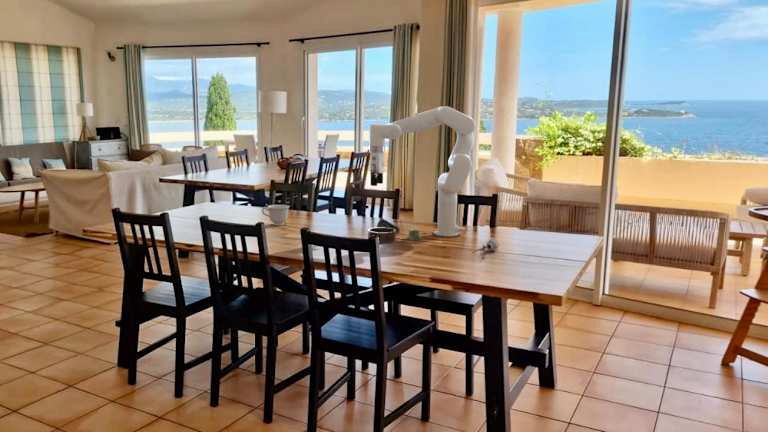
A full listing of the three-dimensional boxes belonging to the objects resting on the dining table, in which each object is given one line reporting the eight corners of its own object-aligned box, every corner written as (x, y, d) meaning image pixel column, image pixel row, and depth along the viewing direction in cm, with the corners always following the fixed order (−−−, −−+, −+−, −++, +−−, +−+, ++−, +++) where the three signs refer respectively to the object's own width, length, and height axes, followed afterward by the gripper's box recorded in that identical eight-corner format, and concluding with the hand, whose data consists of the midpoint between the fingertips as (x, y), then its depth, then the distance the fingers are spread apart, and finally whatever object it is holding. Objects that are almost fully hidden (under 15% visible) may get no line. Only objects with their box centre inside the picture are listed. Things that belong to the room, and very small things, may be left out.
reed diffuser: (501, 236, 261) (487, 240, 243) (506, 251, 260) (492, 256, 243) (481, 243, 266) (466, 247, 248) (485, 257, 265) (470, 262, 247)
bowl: (394, 237, 287) (394, 227, 286) (396, 243, 274) (396, 232, 273) (367, 237, 286) (367, 227, 285) (368, 243, 273) (368, 232, 272)
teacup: (261, 222, 318) (261, 205, 317) (288, 222, 322) (288, 204, 321) (262, 227, 307) (262, 208, 305) (291, 226, 311) (290, 207, 309)
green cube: (417, 237, 287) (418, 228, 286) (418, 239, 282) (419, 230, 282) (408, 237, 286) (408, 228, 286) (409, 239, 282) (410, 230, 281)
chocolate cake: (402, 231, 303) (387, 214, 305) (401, 230, 296) (385, 212, 298) (388, 243, 303) (373, 226, 305) (387, 242, 296) (372, 225, 298)
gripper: (379, 151, 273) (379, 187, 276) (389, 148, 289) (388, 182, 292) (364, 150, 275) (364, 186, 278) (374, 148, 291) (374, 182, 294)
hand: (376, 184), depth 285 cm, fingers open, 9 cm apart
